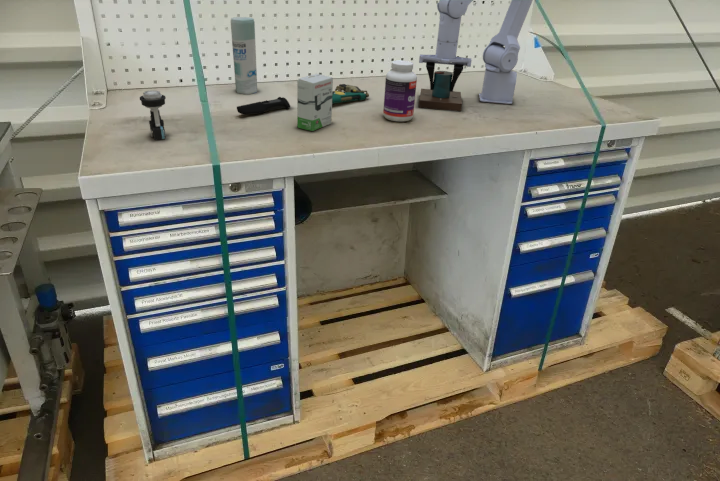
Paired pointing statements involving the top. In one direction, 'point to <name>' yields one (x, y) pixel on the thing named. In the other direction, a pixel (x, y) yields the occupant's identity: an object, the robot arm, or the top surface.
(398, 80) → the pill bottle
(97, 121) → the top surface
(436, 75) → the jar
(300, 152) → the top surface
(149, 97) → the push button
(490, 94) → the robot arm
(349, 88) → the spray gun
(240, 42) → the spray paint can
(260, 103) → the electric trimmer
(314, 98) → the ink box
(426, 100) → the stand
